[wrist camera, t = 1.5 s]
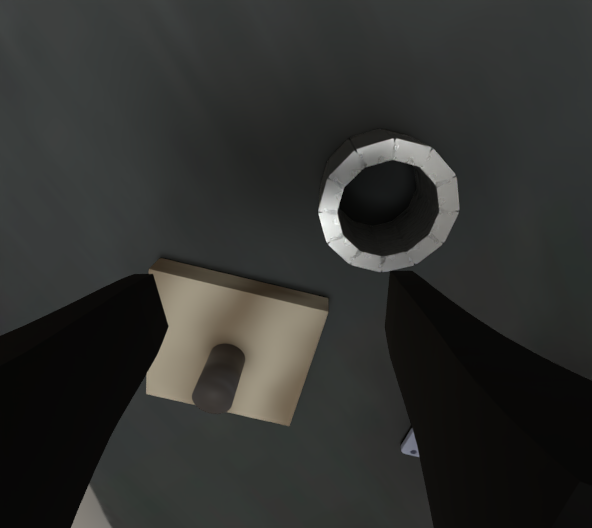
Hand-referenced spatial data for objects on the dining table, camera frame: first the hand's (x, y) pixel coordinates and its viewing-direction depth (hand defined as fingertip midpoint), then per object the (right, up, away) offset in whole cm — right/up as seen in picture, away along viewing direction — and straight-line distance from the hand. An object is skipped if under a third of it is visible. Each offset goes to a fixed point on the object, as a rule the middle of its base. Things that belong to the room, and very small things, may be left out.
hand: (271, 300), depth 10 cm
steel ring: (+5, +5, +8) cm, 10 cm away
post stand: (-4, -4, +13) cm, 15 cm away
